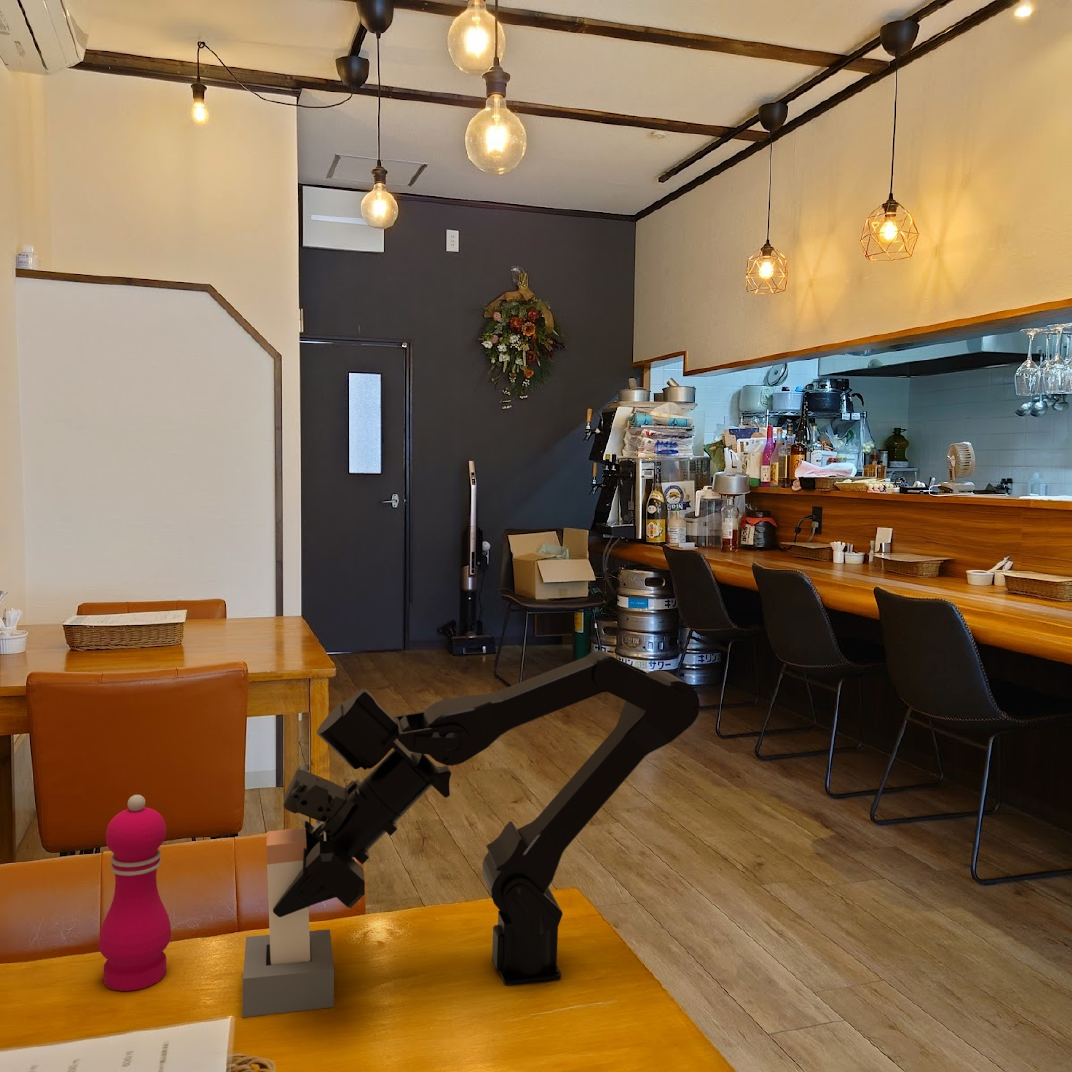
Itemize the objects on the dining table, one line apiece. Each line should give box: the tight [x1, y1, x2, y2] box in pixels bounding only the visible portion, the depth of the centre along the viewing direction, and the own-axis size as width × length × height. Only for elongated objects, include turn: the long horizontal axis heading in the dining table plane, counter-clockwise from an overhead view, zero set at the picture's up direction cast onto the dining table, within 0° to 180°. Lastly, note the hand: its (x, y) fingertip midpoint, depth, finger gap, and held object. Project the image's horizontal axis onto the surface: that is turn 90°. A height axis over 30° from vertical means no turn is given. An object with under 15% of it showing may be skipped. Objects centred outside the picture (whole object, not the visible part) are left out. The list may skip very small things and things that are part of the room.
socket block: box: [241, 928, 335, 1018], centre depth 101 cm, size 9×9×4 cm
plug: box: [265, 826, 310, 965], centre depth 101 cm, size 4×4×15 cm
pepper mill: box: [98, 794, 172, 992], centre depth 102 cm, size 7×7×20 cm
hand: (276, 904), depth 100 cm, fingers closed on plug, 4 cm apart
